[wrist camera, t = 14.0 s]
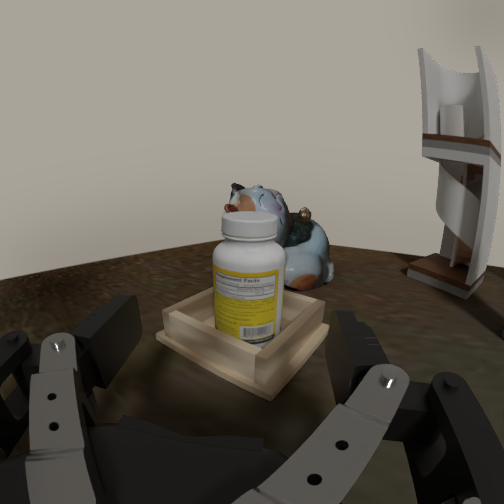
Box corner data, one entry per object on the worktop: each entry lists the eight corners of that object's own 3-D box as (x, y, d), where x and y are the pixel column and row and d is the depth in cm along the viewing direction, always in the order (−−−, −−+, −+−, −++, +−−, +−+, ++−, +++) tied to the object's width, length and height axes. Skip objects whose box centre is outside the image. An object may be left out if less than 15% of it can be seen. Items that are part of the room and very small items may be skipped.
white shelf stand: (433, 263, 44) (444, 74, 34) (482, 281, 36) (495, 76, 25) (406, 275, 38) (417, 48, 28) (466, 299, 30) (480, 46, 19)
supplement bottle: (239, 311, 27) (241, 207, 24) (291, 328, 24) (301, 215, 21) (201, 336, 22) (196, 215, 20) (257, 361, 20) (264, 226, 17)
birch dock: (156, 339, 22) (152, 308, 22) (232, 298, 31) (232, 272, 30) (270, 401, 16) (274, 367, 16) (330, 331, 25) (335, 302, 24)
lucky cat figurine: (337, 298, 31) (293, 186, 25) (243, 318, 36) (186, 226, 30) (332, 232, 43) (300, 149, 37) (262, 253, 48) (224, 179, 42)
